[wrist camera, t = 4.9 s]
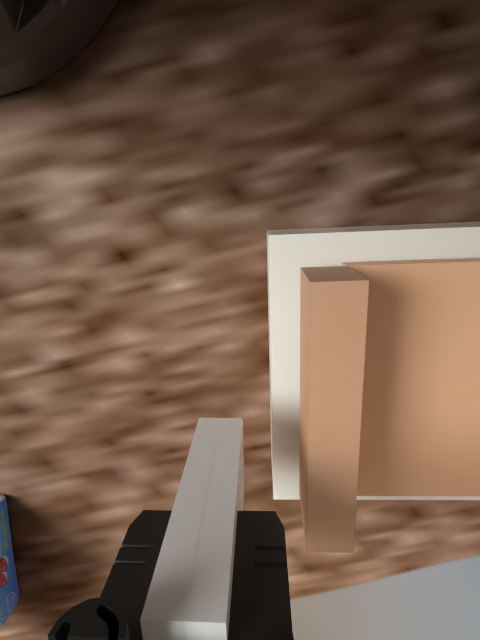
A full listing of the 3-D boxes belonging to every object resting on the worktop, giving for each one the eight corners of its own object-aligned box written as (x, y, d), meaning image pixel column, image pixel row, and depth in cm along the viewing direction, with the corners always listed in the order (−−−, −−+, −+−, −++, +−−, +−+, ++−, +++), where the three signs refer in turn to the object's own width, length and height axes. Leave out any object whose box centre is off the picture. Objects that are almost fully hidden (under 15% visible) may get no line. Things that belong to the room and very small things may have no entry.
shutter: (298, 264, 13) (310, 282, 10) (621, 252, 12) (747, 268, 9) (297, 481, 15) (306, 552, 12) (564, 481, 15) (646, 556, 12)
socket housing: (266, 230, 16) (268, 235, 13) (622, 215, 15) (709, 217, 12) (271, 454, 19) (273, 499, 16) (564, 453, 18) (622, 500, 15)
